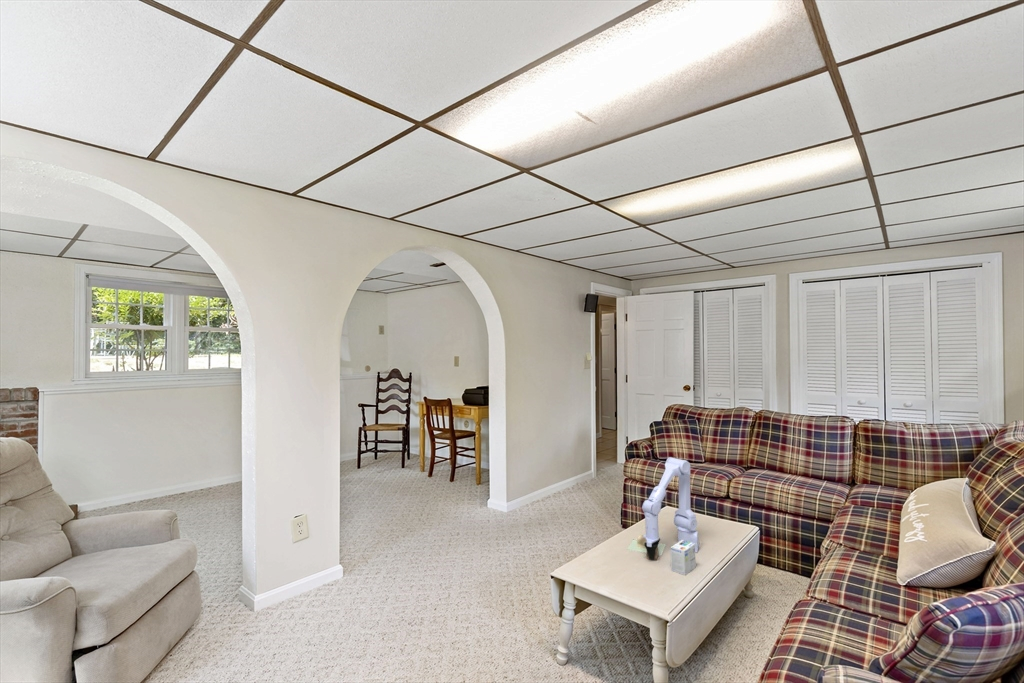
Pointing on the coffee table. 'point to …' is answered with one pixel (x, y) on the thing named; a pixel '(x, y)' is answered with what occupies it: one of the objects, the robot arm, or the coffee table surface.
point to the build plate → (634, 548)
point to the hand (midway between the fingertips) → (652, 556)
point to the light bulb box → (683, 557)
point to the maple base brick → (641, 541)
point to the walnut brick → (655, 555)
